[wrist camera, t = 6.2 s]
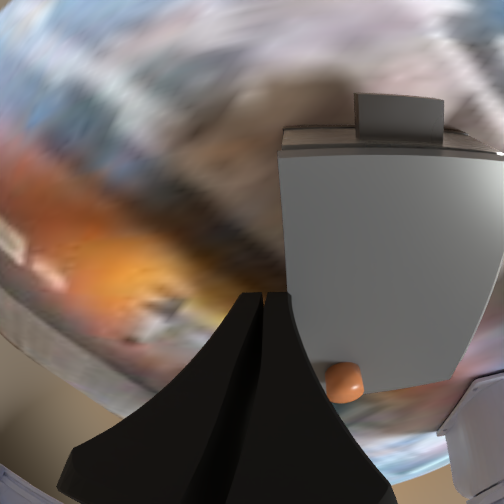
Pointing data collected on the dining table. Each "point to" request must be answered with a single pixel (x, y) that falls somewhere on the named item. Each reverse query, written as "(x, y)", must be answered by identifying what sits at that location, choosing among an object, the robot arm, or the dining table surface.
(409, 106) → the cooker
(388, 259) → the lid
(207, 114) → the dining table surface
